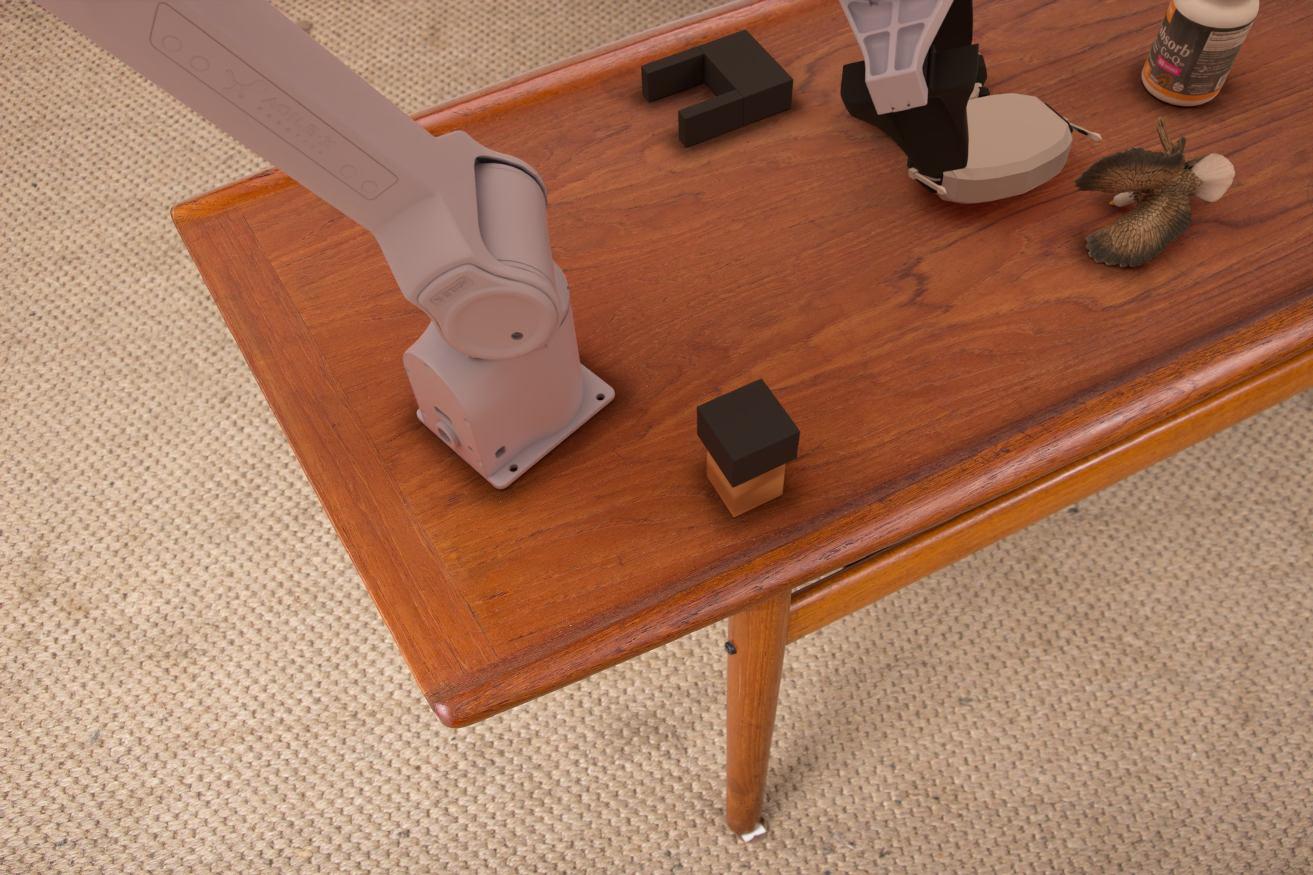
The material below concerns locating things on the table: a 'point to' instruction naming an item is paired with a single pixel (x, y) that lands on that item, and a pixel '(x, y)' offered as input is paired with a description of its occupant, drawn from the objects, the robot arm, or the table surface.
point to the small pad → (747, 432)
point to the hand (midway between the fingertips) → (948, 105)
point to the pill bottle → (1196, 49)
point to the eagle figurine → (1151, 197)
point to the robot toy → (1004, 147)
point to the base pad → (721, 85)
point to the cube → (746, 488)
